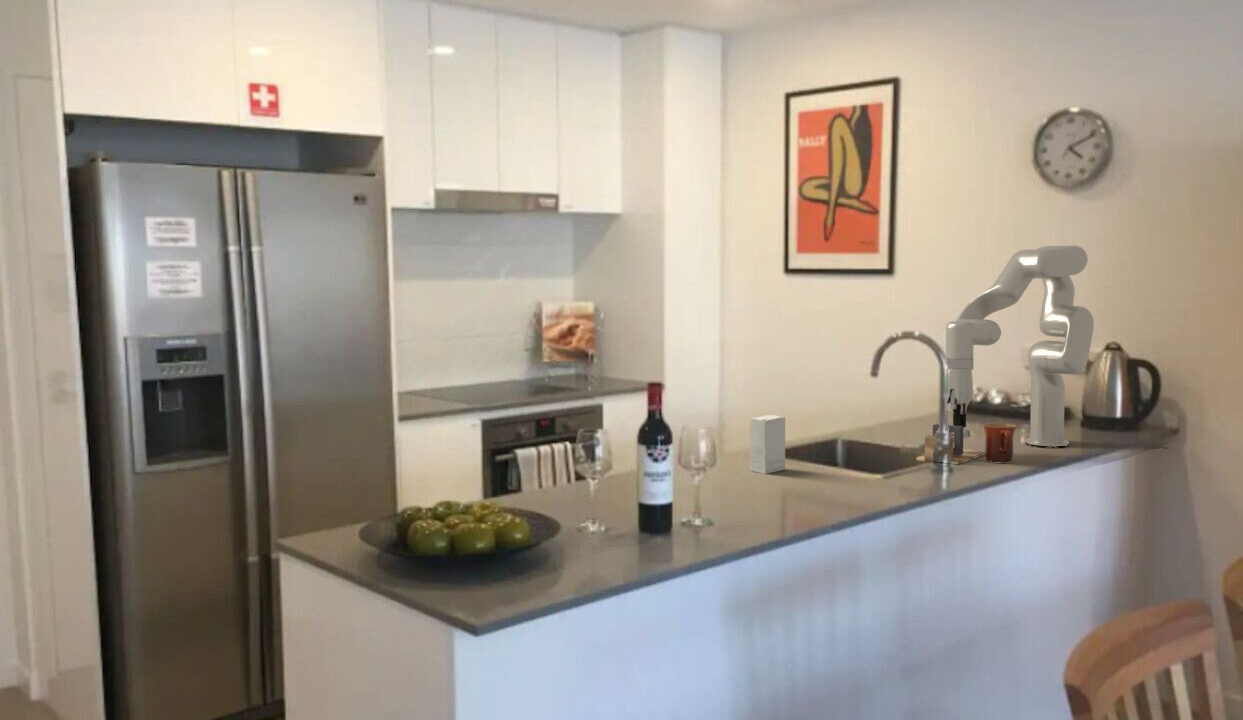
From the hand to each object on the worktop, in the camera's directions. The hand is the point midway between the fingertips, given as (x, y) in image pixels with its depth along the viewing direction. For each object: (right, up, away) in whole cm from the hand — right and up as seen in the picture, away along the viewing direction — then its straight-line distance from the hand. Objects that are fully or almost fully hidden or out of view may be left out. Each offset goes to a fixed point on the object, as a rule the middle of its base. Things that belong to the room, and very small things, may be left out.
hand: (959, 427), depth 305 cm
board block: (-3, -8, -3) cm, 9 cm away
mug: (+8, -9, -11) cm, 17 cm away
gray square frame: (-5, -7, -5) cm, 10 cm away
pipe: (-3, -4, -2) cm, 5 cm away
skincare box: (-58, -11, -19) cm, 62 cm away
